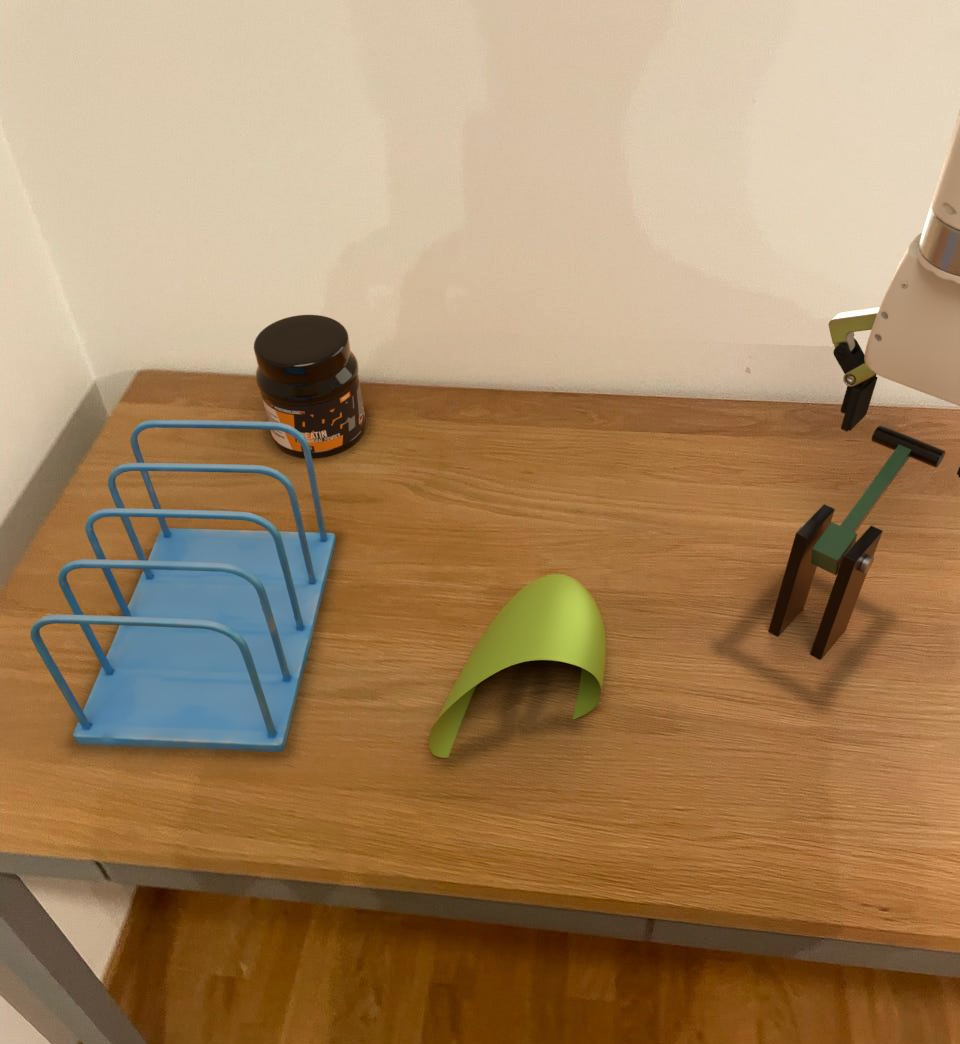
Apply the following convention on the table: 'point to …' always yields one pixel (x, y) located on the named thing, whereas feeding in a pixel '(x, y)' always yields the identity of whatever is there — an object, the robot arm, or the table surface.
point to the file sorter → (201, 620)
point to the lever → (871, 495)
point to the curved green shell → (532, 648)
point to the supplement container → (310, 384)
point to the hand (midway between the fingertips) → (909, 445)
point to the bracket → (843, 589)
